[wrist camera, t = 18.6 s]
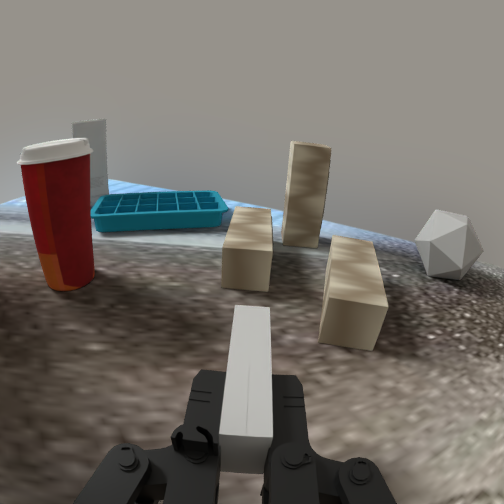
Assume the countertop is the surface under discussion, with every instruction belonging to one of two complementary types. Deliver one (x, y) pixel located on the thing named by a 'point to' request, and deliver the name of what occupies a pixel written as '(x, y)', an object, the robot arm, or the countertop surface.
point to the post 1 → (248, 250)
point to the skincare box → (95, 155)
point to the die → (448, 245)
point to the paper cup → (60, 209)
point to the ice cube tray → (158, 210)
